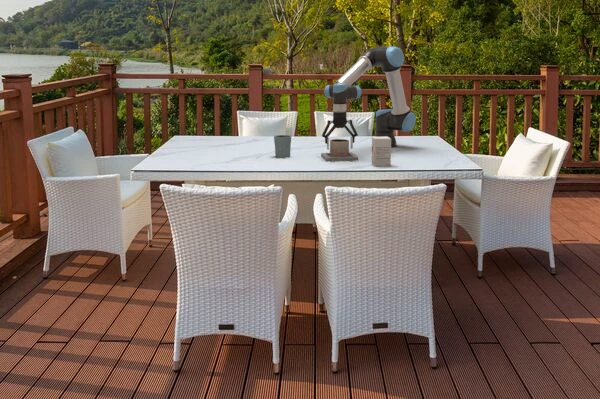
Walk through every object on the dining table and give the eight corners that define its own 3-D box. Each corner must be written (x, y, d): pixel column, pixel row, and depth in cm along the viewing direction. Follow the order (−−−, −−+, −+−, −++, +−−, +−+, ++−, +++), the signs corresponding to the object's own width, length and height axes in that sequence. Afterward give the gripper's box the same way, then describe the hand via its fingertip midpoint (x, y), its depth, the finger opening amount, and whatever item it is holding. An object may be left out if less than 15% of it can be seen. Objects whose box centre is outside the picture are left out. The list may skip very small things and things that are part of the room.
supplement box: (371, 163, 392) (371, 136, 388) (387, 163, 392) (388, 136, 389) (374, 166, 383) (374, 138, 380) (390, 166, 383) (391, 138, 380)
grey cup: (278, 158, 410) (278, 137, 408) (271, 156, 419) (270, 135, 417) (294, 157, 415) (294, 136, 412) (286, 154, 424) (286, 134, 421)
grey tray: (351, 155, 419) (351, 152, 419) (359, 161, 399) (359, 157, 399) (321, 156, 417) (321, 153, 417) (327, 162, 397) (327, 158, 397)
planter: (347, 158, 403) (347, 141, 401) (328, 158, 405) (328, 141, 403) (350, 155, 413) (350, 139, 411) (331, 155, 416) (331, 138, 414)
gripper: (318, 112, 399) (319, 150, 403) (363, 111, 402) (362, 149, 406) (316, 111, 406) (317, 148, 411) (360, 110, 409) (360, 147, 414)
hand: (339, 149), depth 409 cm, fingers open, 13 cm apart
